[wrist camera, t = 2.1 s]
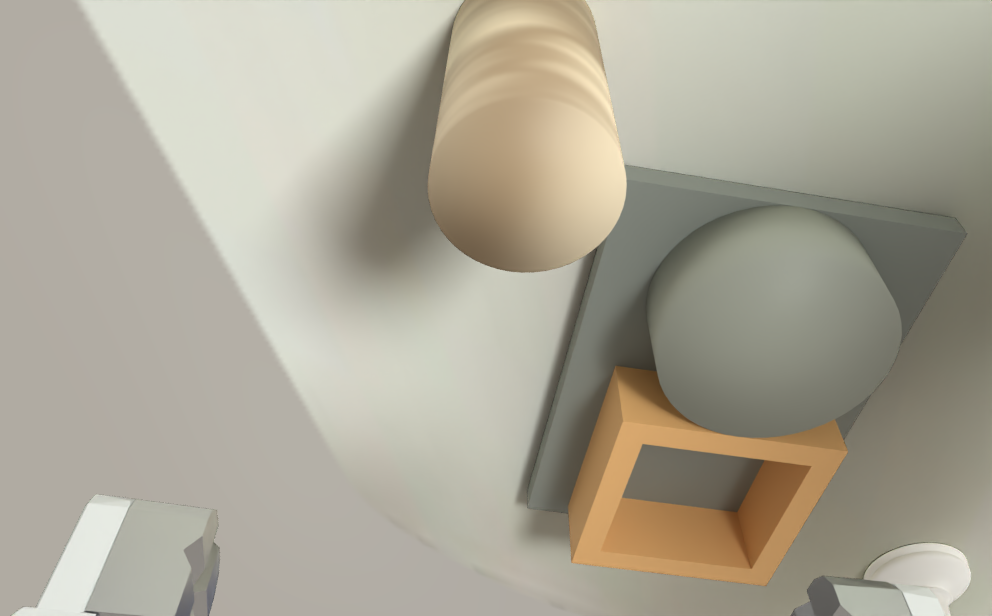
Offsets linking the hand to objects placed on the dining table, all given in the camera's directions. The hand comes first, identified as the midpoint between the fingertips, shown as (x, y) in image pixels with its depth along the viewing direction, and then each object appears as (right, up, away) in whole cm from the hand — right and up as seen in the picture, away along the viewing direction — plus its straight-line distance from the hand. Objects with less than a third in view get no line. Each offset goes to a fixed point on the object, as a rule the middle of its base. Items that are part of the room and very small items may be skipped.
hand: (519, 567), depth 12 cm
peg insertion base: (+8, +1, +23) cm, 25 cm away
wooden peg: (+1, +12, +15) cm, 19 cm away
